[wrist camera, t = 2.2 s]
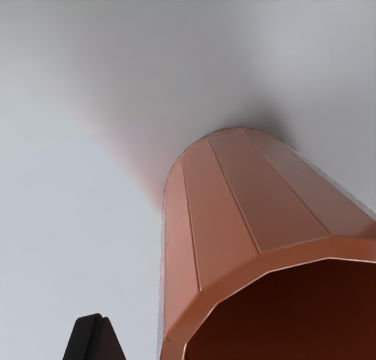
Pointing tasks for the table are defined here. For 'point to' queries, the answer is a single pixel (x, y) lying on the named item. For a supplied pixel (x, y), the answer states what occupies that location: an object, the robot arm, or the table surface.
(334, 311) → the tea mug
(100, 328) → the robot arm
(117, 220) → the table surface
